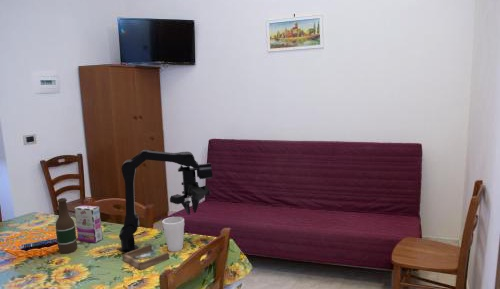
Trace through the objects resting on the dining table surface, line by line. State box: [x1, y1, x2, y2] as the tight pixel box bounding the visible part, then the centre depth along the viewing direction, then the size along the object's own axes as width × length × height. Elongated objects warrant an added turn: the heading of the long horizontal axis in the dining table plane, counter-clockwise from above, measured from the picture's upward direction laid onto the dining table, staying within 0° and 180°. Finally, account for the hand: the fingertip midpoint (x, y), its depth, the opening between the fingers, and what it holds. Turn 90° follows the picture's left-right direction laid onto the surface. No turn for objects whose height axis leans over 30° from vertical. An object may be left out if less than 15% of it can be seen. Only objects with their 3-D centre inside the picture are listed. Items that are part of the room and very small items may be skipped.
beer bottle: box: [55, 197, 78, 255], centre depth 174 cm, size 8×8×24 cm
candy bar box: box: [74, 204, 104, 244], centre depth 186 cm, size 11×5×16 cm, turn 68°
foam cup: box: [161, 216, 185, 252], centre depth 171 cm, size 10×9×13 cm
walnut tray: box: [121, 243, 170, 271], centre depth 163 cm, size 14×13×2 cm
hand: (191, 213), depth 178 cm, fingers open, 3 cm apart
